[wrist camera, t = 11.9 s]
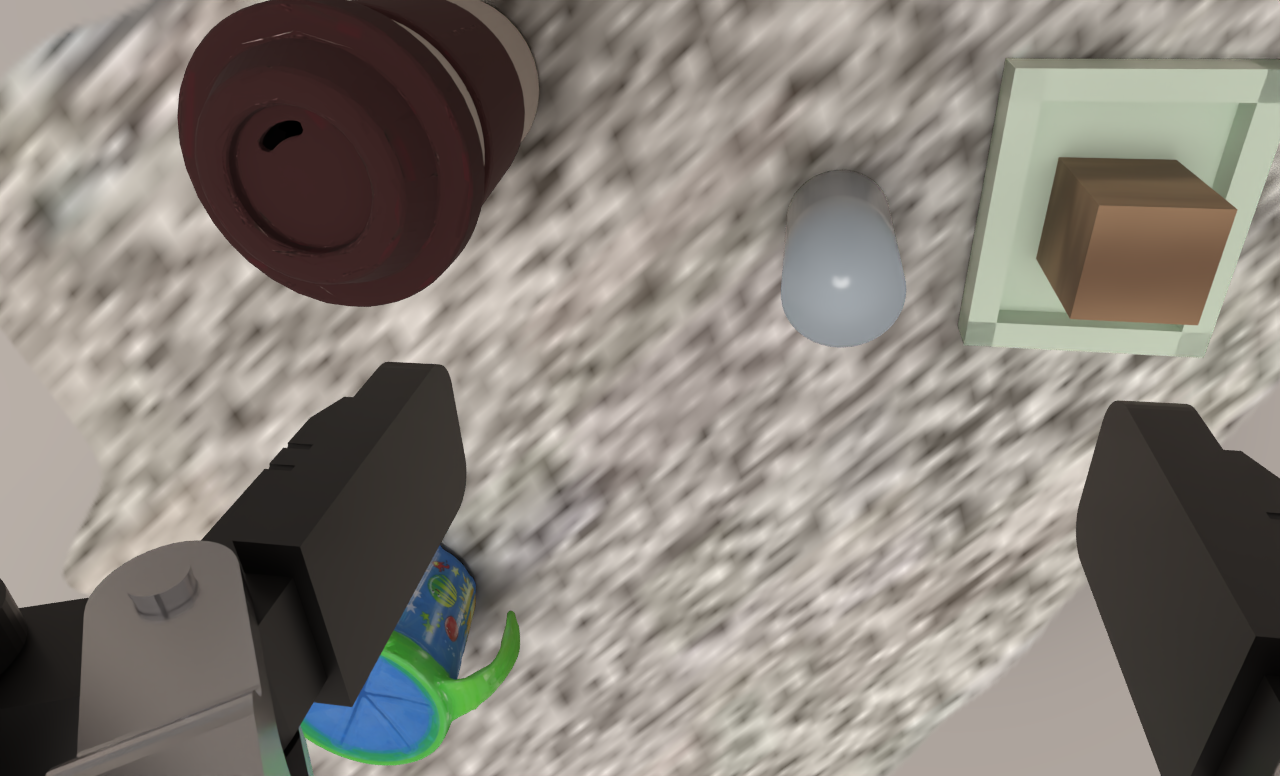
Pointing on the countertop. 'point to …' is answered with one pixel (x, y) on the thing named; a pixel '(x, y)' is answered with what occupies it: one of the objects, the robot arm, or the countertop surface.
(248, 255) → the coffee cup
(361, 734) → the snack cup
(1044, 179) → the sage tray
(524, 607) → the countertop surface
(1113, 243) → the walnut block
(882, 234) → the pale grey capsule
